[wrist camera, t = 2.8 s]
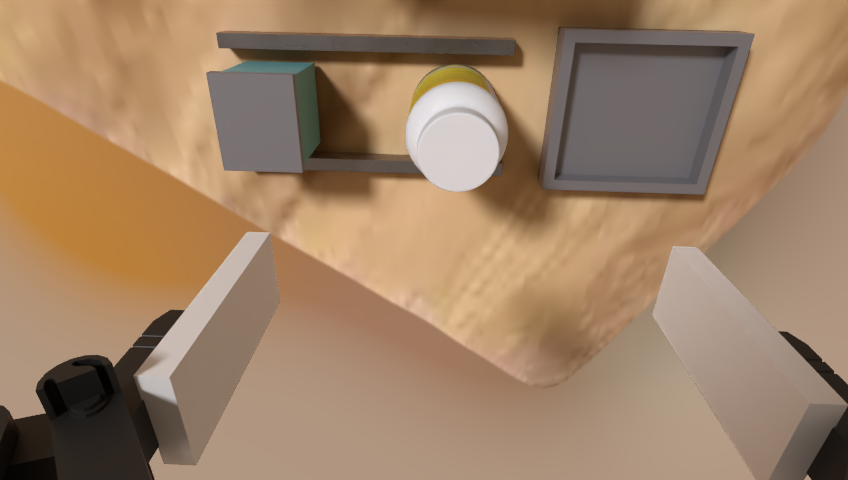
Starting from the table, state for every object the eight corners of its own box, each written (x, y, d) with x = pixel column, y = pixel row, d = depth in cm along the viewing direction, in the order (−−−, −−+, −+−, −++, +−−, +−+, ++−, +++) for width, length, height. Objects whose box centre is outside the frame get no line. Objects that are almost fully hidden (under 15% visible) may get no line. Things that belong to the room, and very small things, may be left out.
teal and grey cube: (244, 58, 36) (206, 72, 30) (316, 60, 36) (292, 75, 30) (256, 142, 39) (224, 170, 33) (323, 144, 39) (302, 172, 33)
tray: (559, 27, 34) (565, 29, 33) (738, 31, 34) (754, 34, 32) (537, 180, 40) (542, 189, 38) (692, 185, 40) (704, 194, 38)
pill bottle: (399, 79, 37) (382, 117, 26) (482, 49, 35) (497, 76, 25) (428, 157, 39) (423, 219, 29) (505, 132, 38) (528, 187, 28)
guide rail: (224, 30, 35) (216, 32, 34) (512, 38, 35) (515, 40, 34) (245, 161, 40) (239, 168, 39) (499, 169, 40) (501, 176, 38)
